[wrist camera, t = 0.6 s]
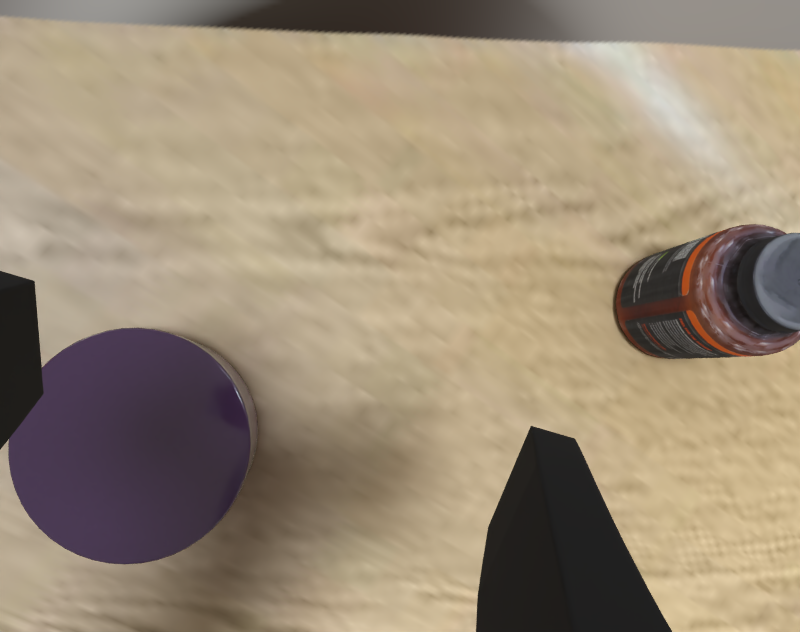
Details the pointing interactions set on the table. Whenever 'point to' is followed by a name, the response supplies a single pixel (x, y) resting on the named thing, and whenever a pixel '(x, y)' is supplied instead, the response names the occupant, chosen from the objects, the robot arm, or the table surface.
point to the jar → (134, 445)
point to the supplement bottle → (715, 296)
